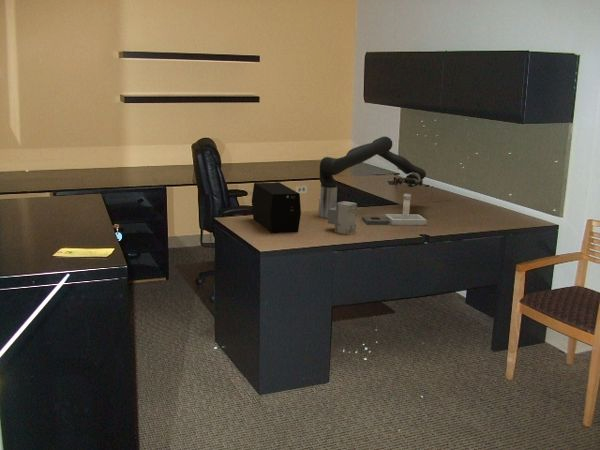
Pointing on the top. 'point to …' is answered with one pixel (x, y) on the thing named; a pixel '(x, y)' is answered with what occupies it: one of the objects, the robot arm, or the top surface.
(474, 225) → the top surface
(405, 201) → the fuse
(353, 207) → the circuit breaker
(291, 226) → the uninterruptible power supply
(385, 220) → the fuse holder
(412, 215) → the tray
